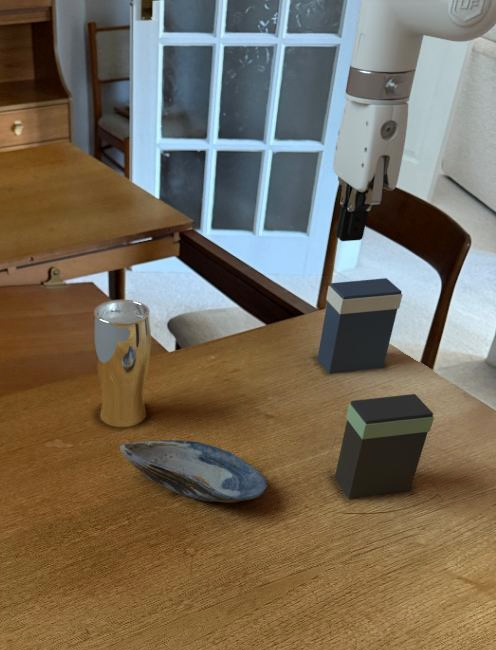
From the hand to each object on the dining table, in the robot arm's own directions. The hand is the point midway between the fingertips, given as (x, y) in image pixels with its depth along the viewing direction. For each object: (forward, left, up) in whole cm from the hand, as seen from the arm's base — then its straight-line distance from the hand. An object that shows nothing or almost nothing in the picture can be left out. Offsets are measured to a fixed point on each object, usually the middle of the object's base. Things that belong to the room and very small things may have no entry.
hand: (348, 238), depth 100 cm
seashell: (+29, +31, -16) cm, 45 cm away
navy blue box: (0, +7, -16) cm, 17 cm away
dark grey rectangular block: (+9, +34, -16) cm, 38 cm away
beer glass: (+34, +14, -16) cm, 40 cm away
